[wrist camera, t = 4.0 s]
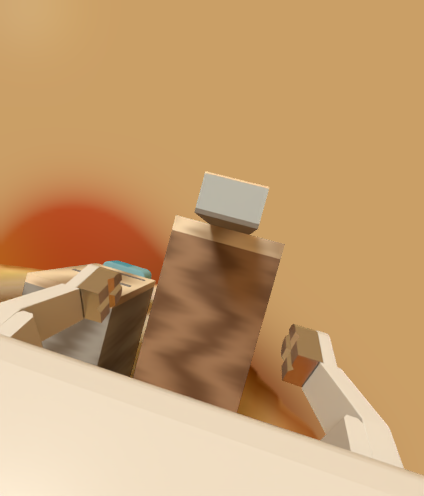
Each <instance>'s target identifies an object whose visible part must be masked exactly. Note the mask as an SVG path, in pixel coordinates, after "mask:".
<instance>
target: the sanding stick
mask: <svg viewBox="0 0 424 496" xmlns="http://www.w3.org/2000/svg"><path fill="white" fill-rule="evenodd" d="M268 190H269V187H267V186H263V185H259V184H255V183H250V182H246V181H242V180H238V179H235V178H230V177H227V176H222V175H218V174H214V173H210V172H205V175H204V179H203V183H202V187H201V190H200V194H199V198H198V201H197V205H196V209H195V213H196V214H197V215H199V216H200V217H201V218H203V219H204V220H205V221H206V222H208V223H209V224H211V225H215V226H218V227H222V228H226V229H229V230H233V231H237V232H241V233H244V234H248V235H250V234H251V233H253V232H254V231H255V230H257V229H258V226H259V222H260V219H261V215H262V211H263V208H264V205H265V201H266V197H267V194H268Z"/></svg>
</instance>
